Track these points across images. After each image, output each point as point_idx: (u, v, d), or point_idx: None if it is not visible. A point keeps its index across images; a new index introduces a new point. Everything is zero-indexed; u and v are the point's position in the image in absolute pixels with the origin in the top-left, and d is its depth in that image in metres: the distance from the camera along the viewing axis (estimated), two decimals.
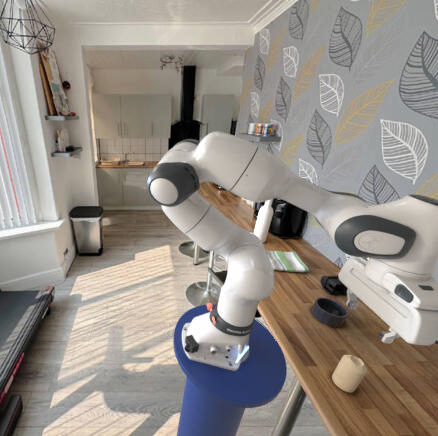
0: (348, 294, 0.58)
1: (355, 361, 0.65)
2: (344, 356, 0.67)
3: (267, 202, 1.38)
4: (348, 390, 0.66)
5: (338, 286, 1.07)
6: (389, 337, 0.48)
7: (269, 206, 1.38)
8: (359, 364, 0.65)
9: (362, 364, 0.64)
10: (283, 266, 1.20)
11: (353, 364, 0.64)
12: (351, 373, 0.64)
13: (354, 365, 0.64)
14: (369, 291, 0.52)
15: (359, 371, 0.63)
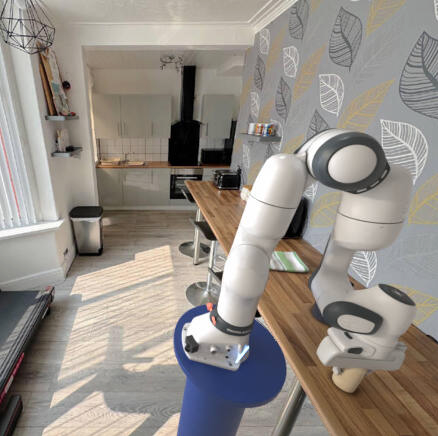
0: None
1: None
2: None
3: None
4: (348, 390, 0.66)
5: None
6: None
7: None
8: None
9: None
10: (283, 266, 1.20)
11: None
12: (351, 373, 0.64)
13: None
14: None
15: (359, 371, 0.63)
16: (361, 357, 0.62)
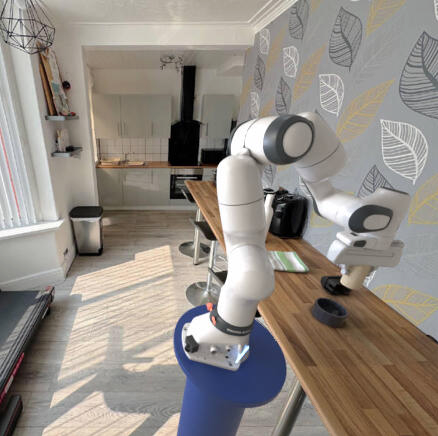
0: None
1: None
2: None
3: (267, 202, 1.38)
4: (354, 287, 0.78)
5: (338, 286, 1.07)
6: (342, 268, 0.79)
7: (269, 206, 1.38)
8: None
9: None
10: (283, 266, 1.20)
11: None
12: (357, 270, 0.76)
13: None
14: None
15: (364, 267, 0.75)
16: (365, 254, 0.74)
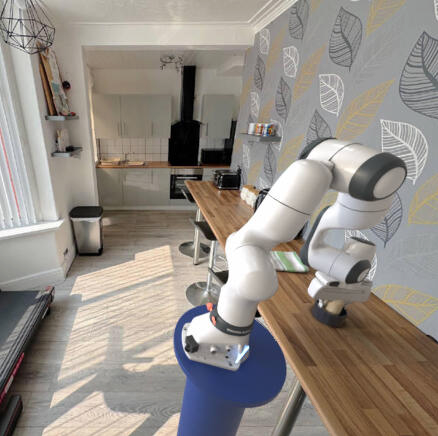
0: None
1: None
2: None
3: None
4: None
5: None
6: (319, 301, 0.90)
7: None
8: None
9: None
10: (283, 266, 1.20)
11: None
12: (333, 305, 0.87)
13: None
14: None
15: (339, 303, 0.86)
16: (339, 291, 0.85)
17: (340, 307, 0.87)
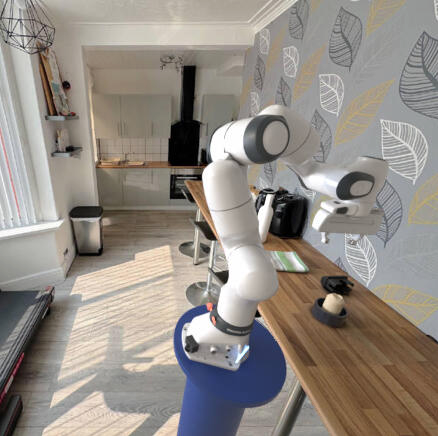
0: None
1: (336, 297, 0.88)
2: (328, 294, 0.90)
3: (267, 202, 1.38)
4: None
5: (338, 286, 1.07)
6: (322, 236, 0.83)
7: (269, 206, 1.38)
8: (338, 299, 0.88)
9: (341, 298, 0.87)
10: (283, 266, 1.20)
11: (334, 298, 0.87)
12: (333, 305, 0.87)
13: (335, 299, 0.87)
14: None
15: (339, 303, 0.86)
16: (347, 221, 0.78)
17: (340, 307, 0.87)
